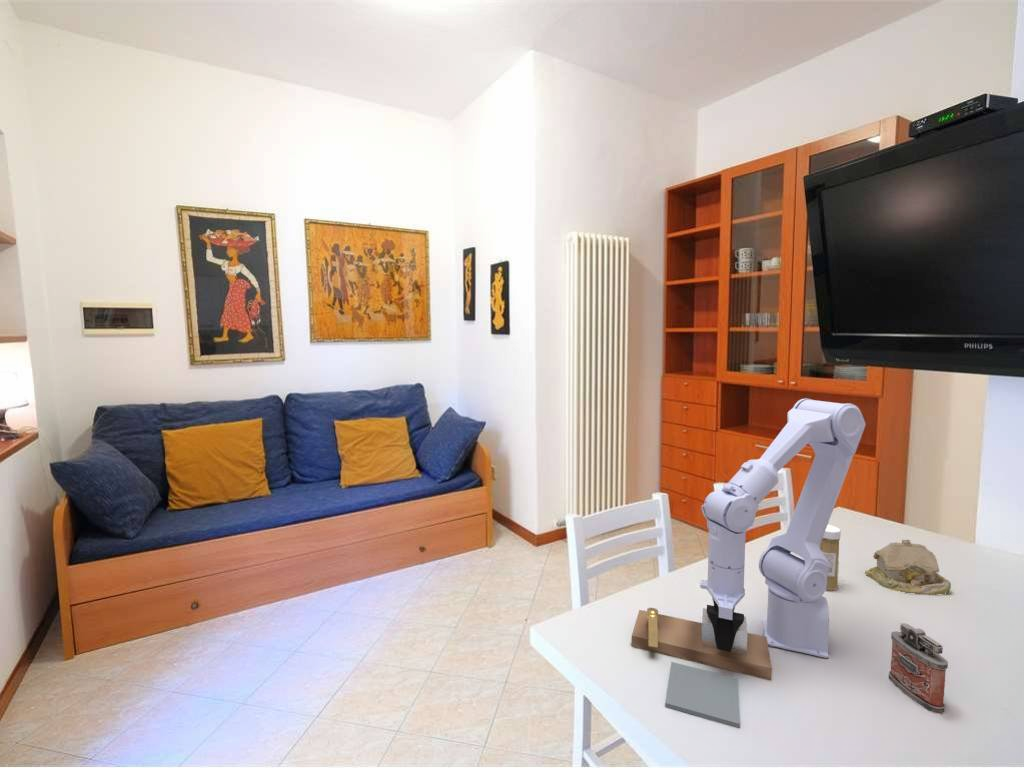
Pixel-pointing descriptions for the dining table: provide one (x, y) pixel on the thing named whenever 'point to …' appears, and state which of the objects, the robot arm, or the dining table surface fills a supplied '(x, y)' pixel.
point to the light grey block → (709, 636)
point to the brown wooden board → (702, 646)
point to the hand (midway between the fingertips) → (723, 637)
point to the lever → (652, 627)
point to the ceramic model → (908, 569)
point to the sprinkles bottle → (831, 554)
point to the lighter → (918, 667)
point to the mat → (703, 694)
